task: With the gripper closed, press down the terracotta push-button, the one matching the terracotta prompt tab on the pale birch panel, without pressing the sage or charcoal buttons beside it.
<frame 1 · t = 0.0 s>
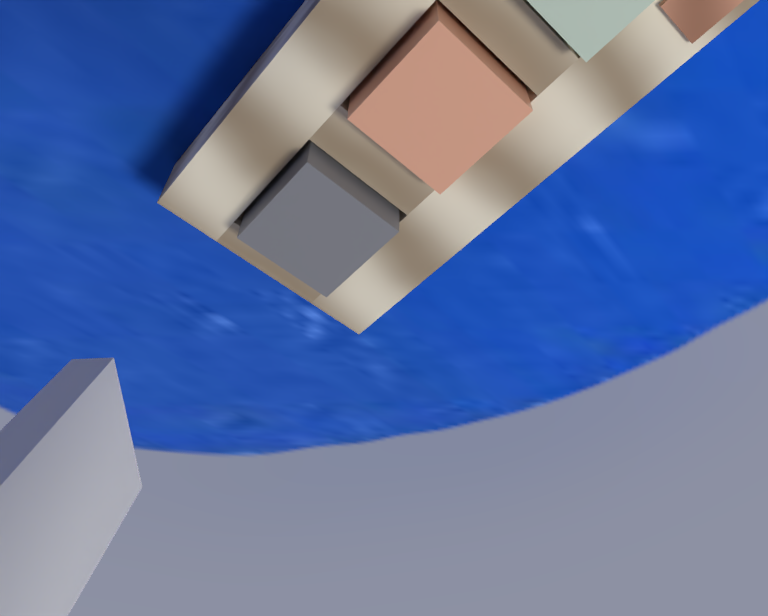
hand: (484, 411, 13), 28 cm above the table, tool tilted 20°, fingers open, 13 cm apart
button panel: (435, 66, 37), on the table
terracotta button: (438, 100, 34), point 4 cm above the table, slide at 0.0 cm
charcoal button: (319, 218, 39), point 4 cm above the table, slide at 0.0 cm
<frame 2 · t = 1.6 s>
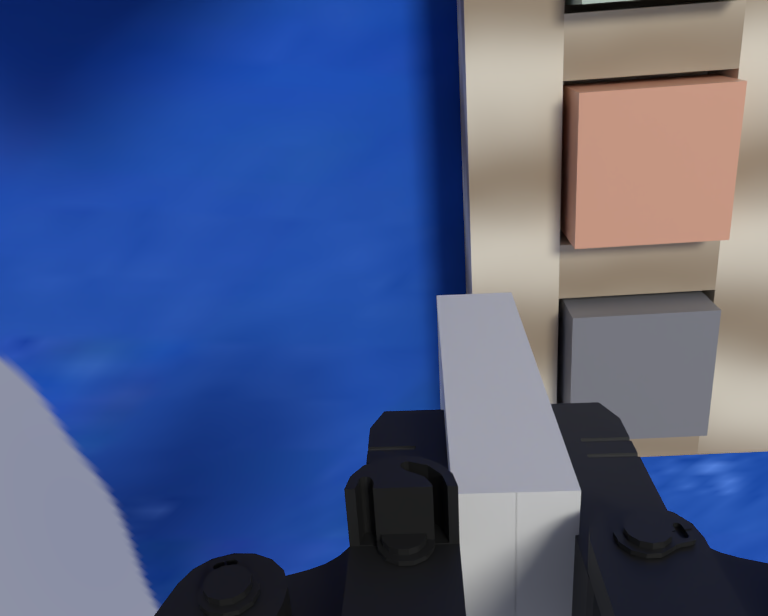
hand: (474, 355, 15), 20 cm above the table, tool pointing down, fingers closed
button panel: (617, 143, 32), on the table
terracotta button: (644, 161, 29), point 4 cm above the table, slide at 0.0 cm
charcoal button: (632, 362, 32), point 4 cm above the table, slide at 0.0 cm
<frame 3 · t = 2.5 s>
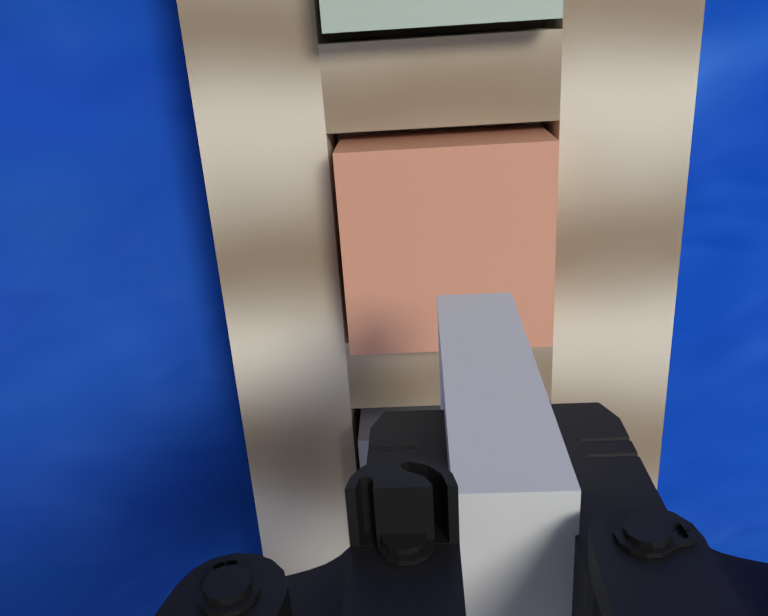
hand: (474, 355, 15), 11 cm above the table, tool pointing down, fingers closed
button panel: (439, 205, 25), on the table
terracotta button: (445, 239, 22), point 4 cm above the table, slide at 0.0 cm
charcoal button: (452, 487, 25), point 4 cm above the table, slide at 0.0 cm
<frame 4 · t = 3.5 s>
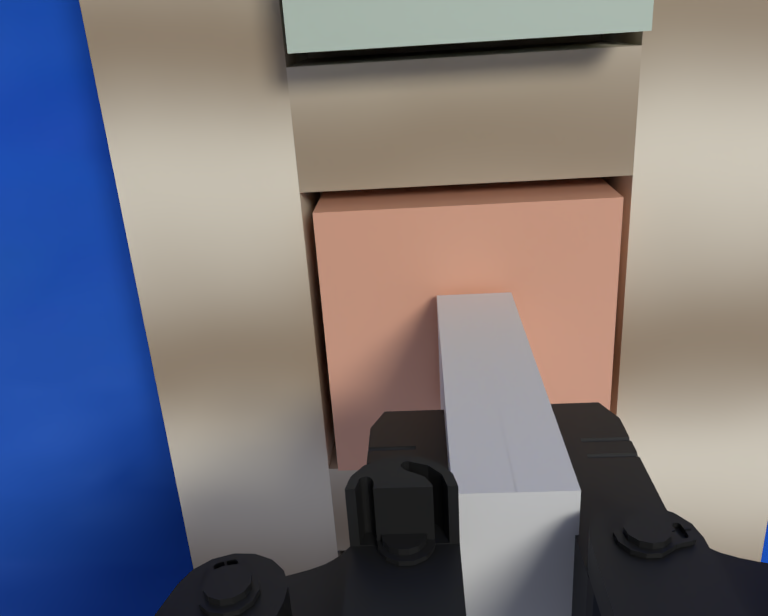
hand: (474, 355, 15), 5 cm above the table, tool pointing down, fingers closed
button panel: (456, 273, 19), on the table
terracotta button: (463, 317, 16), point 3 cm above the table, slide at 1.0 cm, touching gripper
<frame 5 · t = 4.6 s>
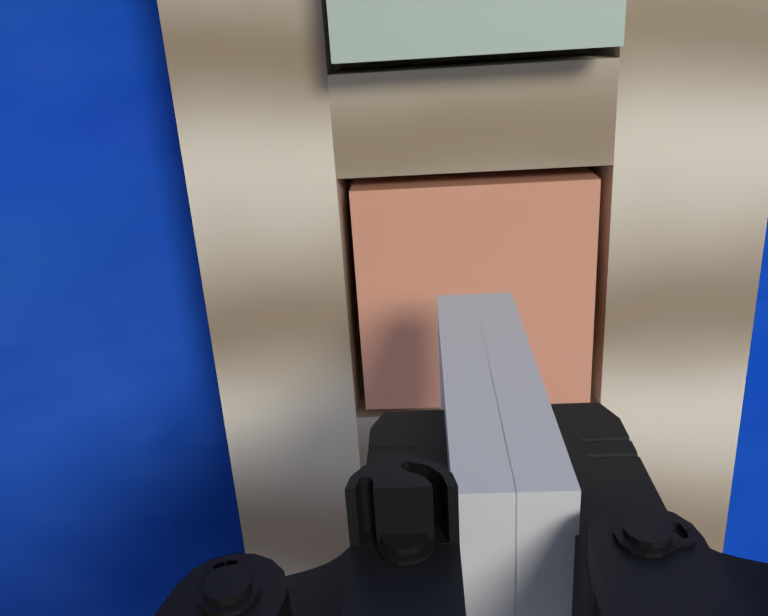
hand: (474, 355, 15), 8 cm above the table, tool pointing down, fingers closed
button panel: (466, 254, 22), on the table
terracotta button: (471, 282, 20), point 3 cm above the table, slide at 1.4 cm
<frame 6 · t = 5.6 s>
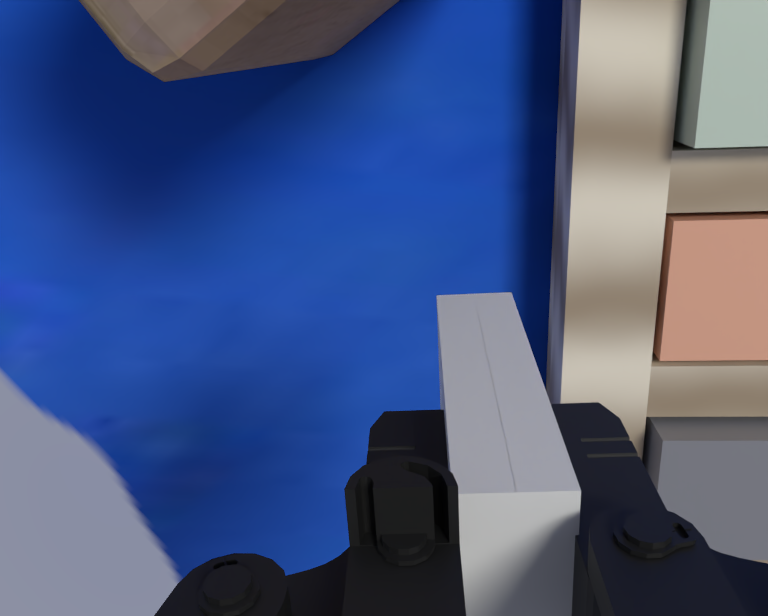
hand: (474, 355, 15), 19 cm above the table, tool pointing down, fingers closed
button panel: (706, 263, 33), on the table
terracotta button: (728, 280, 30), point 3 cm above the table, slide at 1.4 cm
charcoal button: (715, 482, 32), point 4 cm above the table, slide at 0.0 cm
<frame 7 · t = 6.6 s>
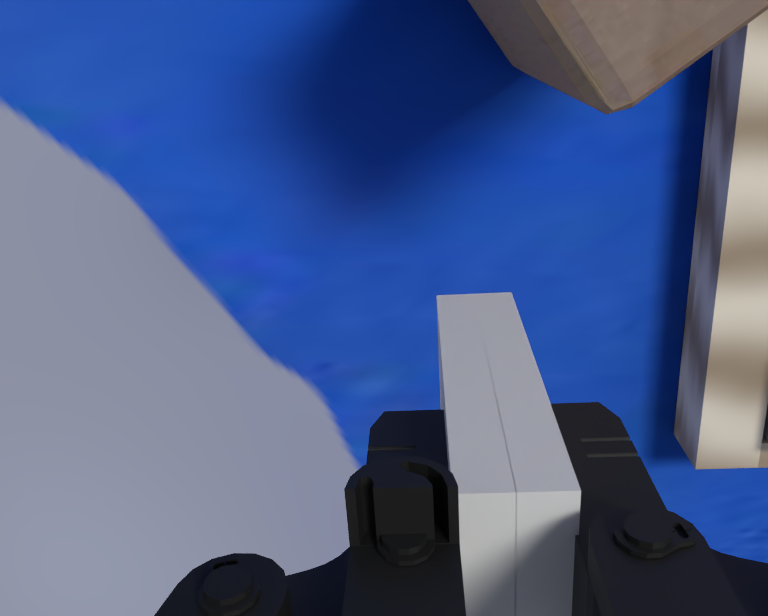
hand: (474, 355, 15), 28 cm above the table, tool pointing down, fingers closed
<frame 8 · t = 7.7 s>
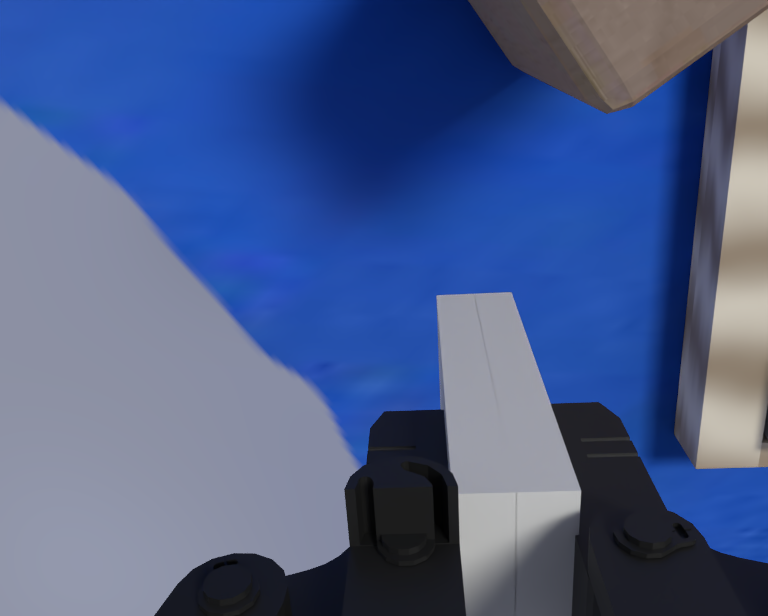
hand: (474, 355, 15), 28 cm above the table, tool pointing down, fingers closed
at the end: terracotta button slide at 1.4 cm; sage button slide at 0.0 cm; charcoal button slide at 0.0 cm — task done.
